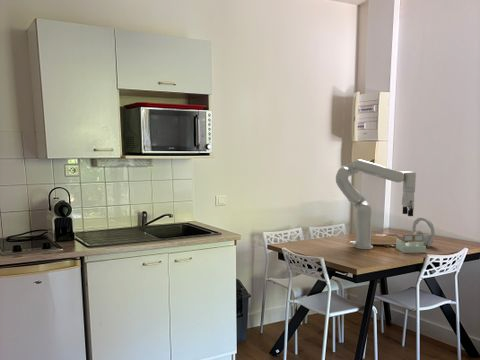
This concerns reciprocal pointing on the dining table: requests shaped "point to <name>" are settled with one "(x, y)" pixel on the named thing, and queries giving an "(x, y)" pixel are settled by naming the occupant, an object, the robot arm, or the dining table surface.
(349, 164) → the robot arm
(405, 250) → the stand
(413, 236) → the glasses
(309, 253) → the dining table surface
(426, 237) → the headphones
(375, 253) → the dining table surface
